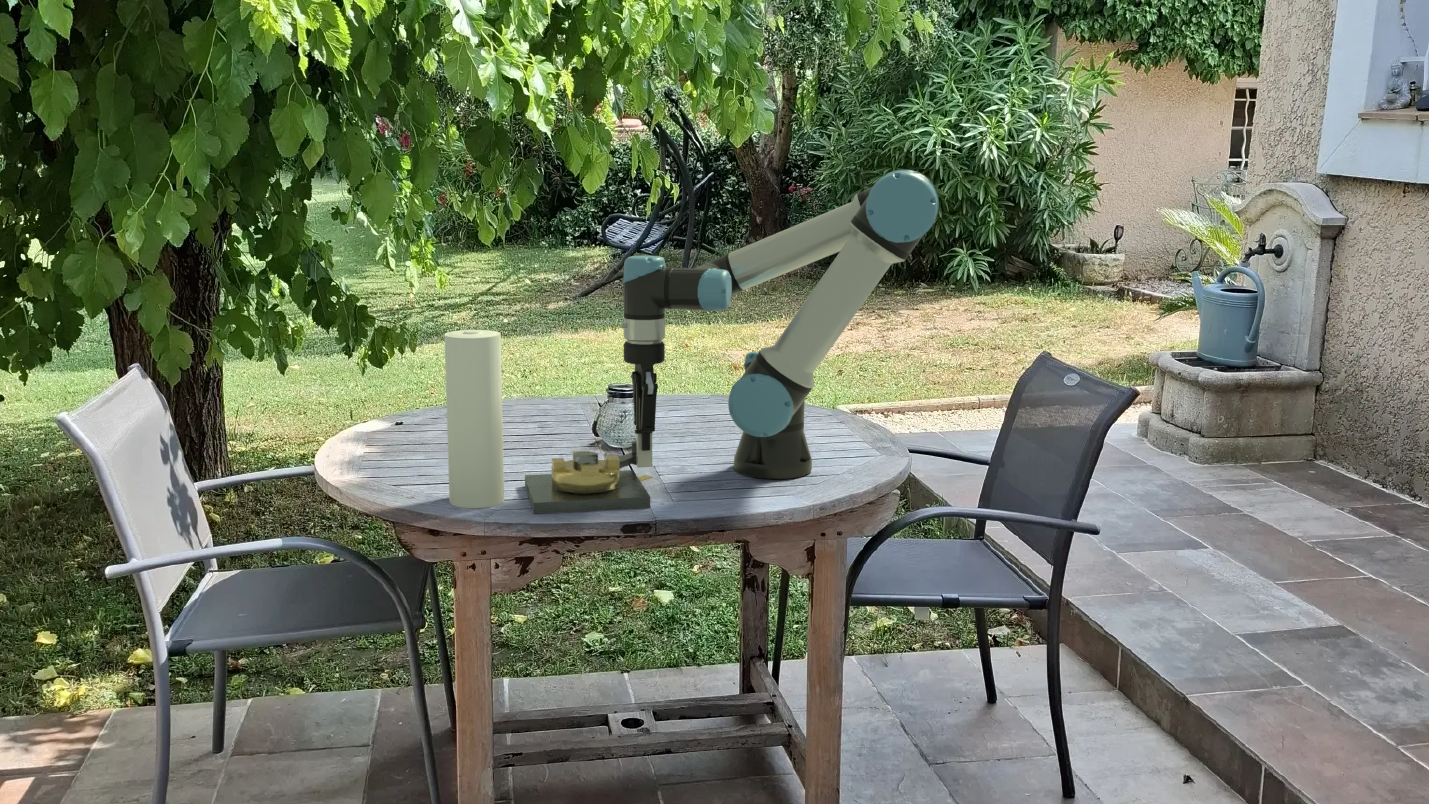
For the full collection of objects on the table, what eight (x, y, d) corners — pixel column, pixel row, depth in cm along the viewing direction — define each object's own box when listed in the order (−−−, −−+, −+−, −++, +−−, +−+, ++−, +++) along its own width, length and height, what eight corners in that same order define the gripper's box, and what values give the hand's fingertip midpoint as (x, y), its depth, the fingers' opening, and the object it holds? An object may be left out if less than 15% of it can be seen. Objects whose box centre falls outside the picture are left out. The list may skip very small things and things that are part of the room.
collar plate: (650, 475, 232) (651, 465, 232) (672, 506, 212) (672, 495, 212) (523, 481, 227) (523, 471, 226) (533, 514, 207) (533, 502, 206)
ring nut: (615, 458, 235) (615, 431, 234) (668, 467, 229) (668, 439, 228) (537, 486, 215) (537, 456, 214) (593, 497, 209) (592, 466, 208)
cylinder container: (507, 493, 219) (504, 327, 213) (500, 508, 210) (496, 335, 204) (454, 492, 219) (449, 326, 213) (445, 508, 209) (439, 334, 203)
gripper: (617, 336, 229) (618, 459, 233) (630, 346, 216) (630, 475, 221) (657, 335, 231) (657, 457, 235) (671, 345, 218) (671, 473, 223)
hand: (644, 466), depth 228 cm, fingers closed
